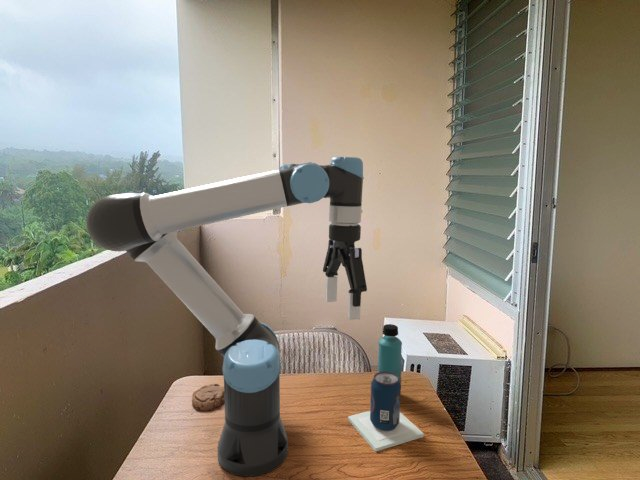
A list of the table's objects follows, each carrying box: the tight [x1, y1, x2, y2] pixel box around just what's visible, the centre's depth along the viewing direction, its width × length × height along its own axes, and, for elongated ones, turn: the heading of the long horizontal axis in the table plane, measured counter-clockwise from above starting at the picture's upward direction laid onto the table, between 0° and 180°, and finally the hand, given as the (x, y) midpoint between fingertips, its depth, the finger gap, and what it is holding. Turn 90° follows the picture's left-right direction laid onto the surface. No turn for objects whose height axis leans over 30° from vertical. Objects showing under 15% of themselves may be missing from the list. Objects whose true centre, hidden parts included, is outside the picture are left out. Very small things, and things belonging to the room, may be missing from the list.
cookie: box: [191, 383, 225, 412], centre depth 110 cm, size 10×11×3 cm
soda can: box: [369, 372, 402, 431], centre depth 98 cm, size 7×7×12 cm
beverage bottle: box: [376, 323, 403, 385], centre depth 112 cm, size 6×7×20 cm
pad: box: [347, 410, 425, 453], centre depth 99 cm, size 13×13×1 cm
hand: (341, 309), depth 101 cm, fingers open, 13 cm apart
